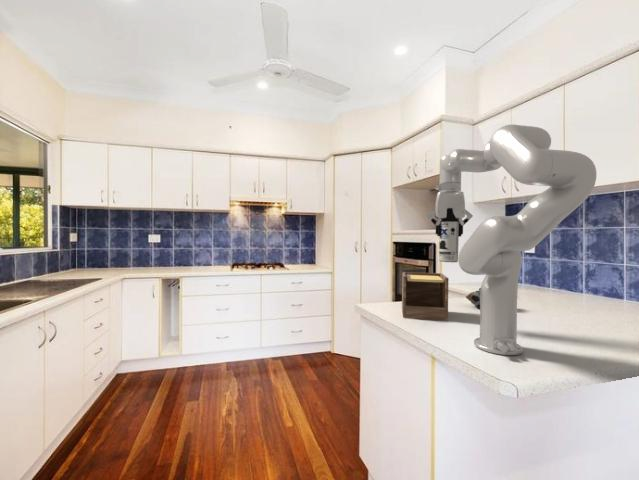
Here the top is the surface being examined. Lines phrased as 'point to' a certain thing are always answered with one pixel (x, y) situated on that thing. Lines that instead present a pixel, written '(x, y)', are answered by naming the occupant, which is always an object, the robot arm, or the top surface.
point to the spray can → (449, 238)
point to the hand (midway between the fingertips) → (449, 235)
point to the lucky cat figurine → (474, 297)
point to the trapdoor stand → (425, 298)
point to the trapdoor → (424, 278)
